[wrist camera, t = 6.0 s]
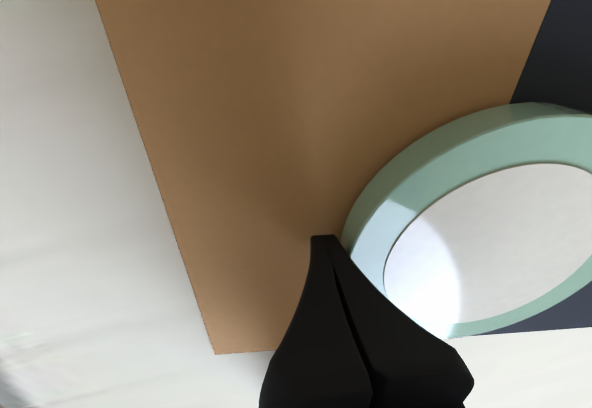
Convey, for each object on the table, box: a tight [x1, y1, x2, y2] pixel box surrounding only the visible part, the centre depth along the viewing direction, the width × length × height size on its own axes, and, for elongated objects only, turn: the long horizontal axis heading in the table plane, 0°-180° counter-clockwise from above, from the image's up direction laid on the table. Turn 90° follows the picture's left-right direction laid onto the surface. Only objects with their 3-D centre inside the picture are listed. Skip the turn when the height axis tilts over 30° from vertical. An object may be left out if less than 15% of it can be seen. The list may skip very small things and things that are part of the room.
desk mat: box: [95, 0, 592, 355], centre depth 14 cm, size 20×32×1 cm, turn 91°
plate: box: [340, 102, 592, 339], centre depth 13 cm, size 13×13×2 cm
